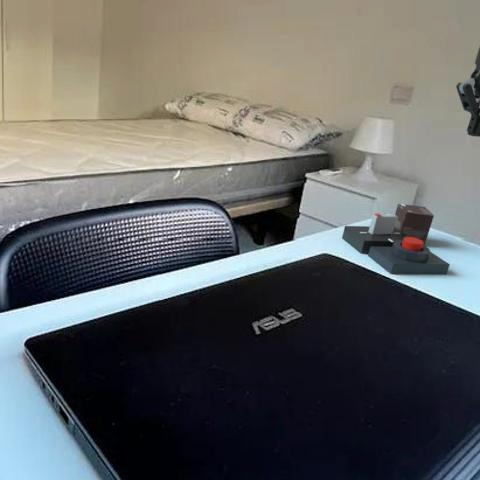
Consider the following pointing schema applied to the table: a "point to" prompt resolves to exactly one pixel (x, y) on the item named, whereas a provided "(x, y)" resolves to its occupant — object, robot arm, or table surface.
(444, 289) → the table surface
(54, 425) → the table surface
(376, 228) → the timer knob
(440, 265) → the button block
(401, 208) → the box
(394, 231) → the panel
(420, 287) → the table surface
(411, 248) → the power button
